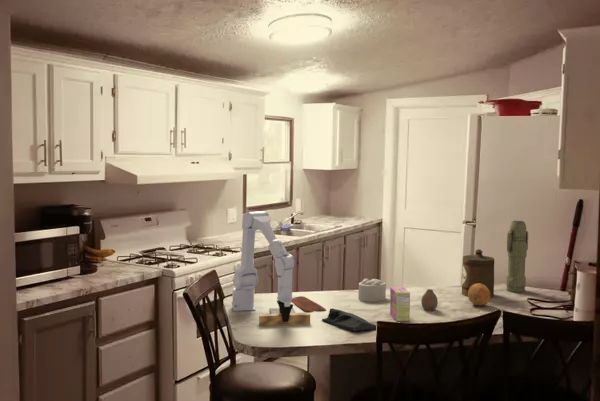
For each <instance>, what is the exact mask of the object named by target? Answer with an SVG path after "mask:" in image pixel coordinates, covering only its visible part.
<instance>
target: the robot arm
mask: <svg viewBox="0 0 600 401" xmlns="http://www.w3.org/2000/svg"><path fill="white" fill-rule="evenodd" d="M241 222H242V223H241V225H242V226H241V229H242V236H241V237H242V238H241V241H242V242H241V256H240V266H238V267H237V268H236V269H235V270H234V275H233V278H232V283H233V286H234V288H232V295H231V296H232V297H231V298H232V301H231V306H232V311H233V312H235V311H236V312H239V311H241V312H243V311H255V310H256V307H255V301H254V300H255V289H256V286H257V284H258V282H259V276H258V269H257V268H256V267H254V257H255V256H254V255H255V244H256V243H255V241H256V240H255V238H256V231H258V230H259V231H261V233H262V235H263V236H264V238H265V239H266V240H267V243H269V244H268V250H269V251H270V253H271V255H272V257H273V259H274V260H275V261H274V267H275V270H276V276H277V296H276V299H277V300H276V302H277V305H278V308H279V309H280V313H281V314H282V320H283V322H288V320H289V316H290V312H291V309H292V308H293V309H294V303H293V304H291V303H292V302H291V300H292V299H295V297H296V296H294V295H293V270H294V269H295V267H296V264H297V263H296V259H295V257H294V255H292V254H290V252H288V250H287V248H286V247H285V245H284V244H283V242H282V240H279V239H277V237H276V235H275V232H274V230H273V228H272V225H271V216H270V214H269V212H268V211H266V210H261V211H246V212H245V213H244V214H243V215H242V221H241Z"/></svg>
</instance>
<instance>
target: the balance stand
mask: <svg viewBox="0 0 600 401" xmlns="http://www.w3.org/2000/svg"><path fill="white" fill-rule="evenodd" d="M290 313H296V310H295V309H294V307H293V308H292V309H291V312H290ZM269 314H280V309H279V307H274V308H273V307H272V308H270V307H269Z"/></svg>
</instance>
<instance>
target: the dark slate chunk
mask: <svg viewBox="0 0 600 401" xmlns="http://www.w3.org/2000/svg"><path fill="white" fill-rule="evenodd" d="M321 321H323V322H324V323H325V322H326V323H328V324H330V325H333V326H335V327H339V328H341V327H342V329H344V330H347V331H350V330H351V332H361V331H373V330H374V331H376V330H377V329H376V326H377V325H376V324H374V323H371V322H369V321H368V320H366V319H364V318H362V317H360V316H359V315H356V314H354V313H351V312H347V311H344V310H341V309H337V308H330V309H329V312H328V315H327V317H325V318H322V319H321Z"/></svg>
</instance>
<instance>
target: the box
mask: <svg viewBox="0 0 600 401" xmlns="http://www.w3.org/2000/svg"><path fill="white" fill-rule="evenodd" d="M389 295H390V297H389V298H390V299H389V300H390V301H389V303H390V304H389V305H390V306H389V307H390V308H389V312H390V313H389V314H390V316H391V317H392V318H393V319H394V320H395V322H410V321H411V320H410V319H411V316H410V314H411V312H410V311H411V292H410V291H409V290H407V289H406V288H405V286H390V289H389Z"/></svg>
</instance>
